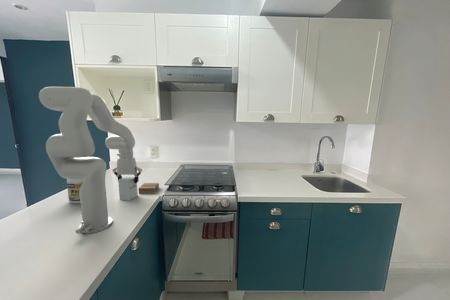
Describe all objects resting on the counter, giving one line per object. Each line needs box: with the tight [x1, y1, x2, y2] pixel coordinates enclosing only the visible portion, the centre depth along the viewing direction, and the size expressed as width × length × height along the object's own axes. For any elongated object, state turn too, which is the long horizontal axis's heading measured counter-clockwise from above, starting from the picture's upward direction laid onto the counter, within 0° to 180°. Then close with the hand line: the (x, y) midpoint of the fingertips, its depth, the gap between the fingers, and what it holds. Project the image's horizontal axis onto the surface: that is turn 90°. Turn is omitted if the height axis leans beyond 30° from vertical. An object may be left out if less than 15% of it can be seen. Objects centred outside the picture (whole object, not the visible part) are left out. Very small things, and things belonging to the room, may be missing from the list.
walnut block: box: [138, 182, 160, 195], centre depth 128 cm, size 10×10×4 cm
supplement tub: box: [66, 179, 84, 204], centre depth 112 cm, size 12×12×17 cm
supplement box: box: [117, 175, 139, 202], centre depth 116 cm, size 7×7×13 cm
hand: (128, 182), depth 116 cm, fingers open, 9 cm apart
